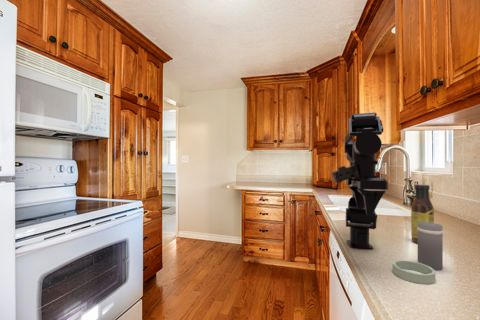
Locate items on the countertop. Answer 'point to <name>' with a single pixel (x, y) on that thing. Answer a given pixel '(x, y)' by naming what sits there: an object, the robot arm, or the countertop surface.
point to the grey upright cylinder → (430, 245)
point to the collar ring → (414, 277)
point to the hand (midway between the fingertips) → (364, 213)
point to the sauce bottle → (421, 209)
